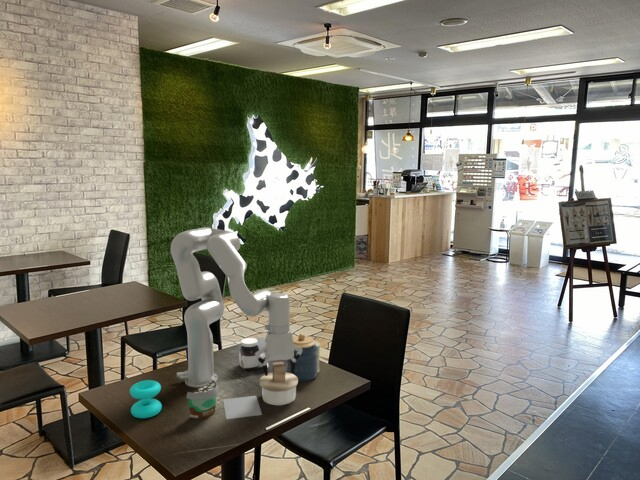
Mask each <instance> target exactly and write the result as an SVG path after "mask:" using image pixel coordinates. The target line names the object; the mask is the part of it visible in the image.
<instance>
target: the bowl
mask: <svg viewBox="0 0 640 480" xmlns="http://www.w3.org/2000/svg"><path fill="white" fill-rule="evenodd" d="M261 396H262V401H263V402H264V403H266V404H269V405H273V406H283V405H284V406H285V405H288V404H291V403H292V402H294V401H295V400H296V396H297V386H296V387H294V388H293V389H290V390H287V391H280V392H276V391H269V390H266V389H264V388H262V387H261Z"/></svg>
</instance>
